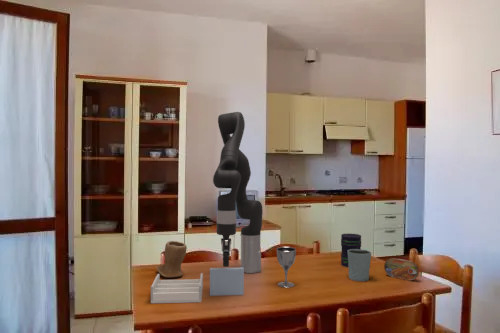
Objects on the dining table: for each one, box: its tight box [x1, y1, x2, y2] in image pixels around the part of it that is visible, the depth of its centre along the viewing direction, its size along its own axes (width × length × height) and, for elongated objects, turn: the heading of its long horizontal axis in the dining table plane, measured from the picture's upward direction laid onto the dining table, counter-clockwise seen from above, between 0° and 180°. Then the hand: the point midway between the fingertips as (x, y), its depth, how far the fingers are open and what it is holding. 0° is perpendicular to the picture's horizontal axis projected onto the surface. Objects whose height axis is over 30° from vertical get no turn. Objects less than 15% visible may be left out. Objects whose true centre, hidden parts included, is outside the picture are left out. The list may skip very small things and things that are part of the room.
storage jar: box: [340, 233, 362, 268], centre depth 195 cm, size 10×10×15 cm
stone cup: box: [155, 240, 187, 278], centre depth 177 cm, size 15×12×15 cm
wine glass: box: [276, 246, 297, 288], centre depth 163 cm, size 8×8×15 cm
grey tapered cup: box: [347, 249, 372, 282], centre depth 173 cm, size 10×10×12 cm
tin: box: [383, 257, 420, 282], centre depth 174 cm, size 15×3×8 cm, turn 45°
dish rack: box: [150, 272, 204, 304], centre depth 150 cm, size 18×16×6 cm
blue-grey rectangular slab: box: [209, 266, 245, 297], centre depth 151 cm, size 13×2×10 cm, turn 95°
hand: (225, 263), depth 151 cm, fingers open, 8 cm apart
